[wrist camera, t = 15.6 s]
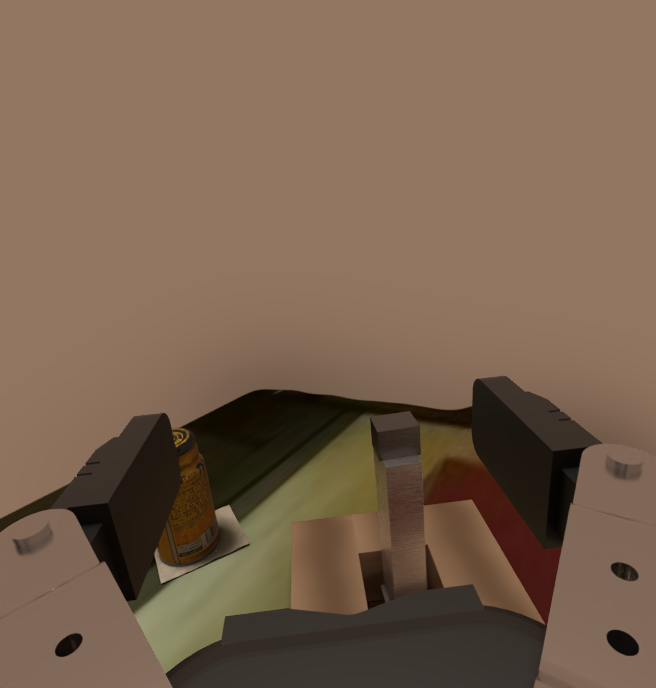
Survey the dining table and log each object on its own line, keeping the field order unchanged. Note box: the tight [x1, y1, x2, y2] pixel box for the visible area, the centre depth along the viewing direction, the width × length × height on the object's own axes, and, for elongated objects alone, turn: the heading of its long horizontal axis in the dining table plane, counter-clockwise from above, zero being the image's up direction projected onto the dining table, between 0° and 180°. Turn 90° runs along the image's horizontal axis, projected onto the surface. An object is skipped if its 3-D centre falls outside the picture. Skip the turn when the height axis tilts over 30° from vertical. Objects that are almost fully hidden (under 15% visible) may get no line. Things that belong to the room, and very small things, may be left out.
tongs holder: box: [291, 500, 545, 624], centre depth 32 cm, size 16×16×5 cm
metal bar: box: [370, 411, 427, 604], centre depth 30 cm, size 3×4×18 cm, turn 7°
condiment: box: [155, 428, 250, 584], centre depth 43 cm, size 7×8×12 cm
